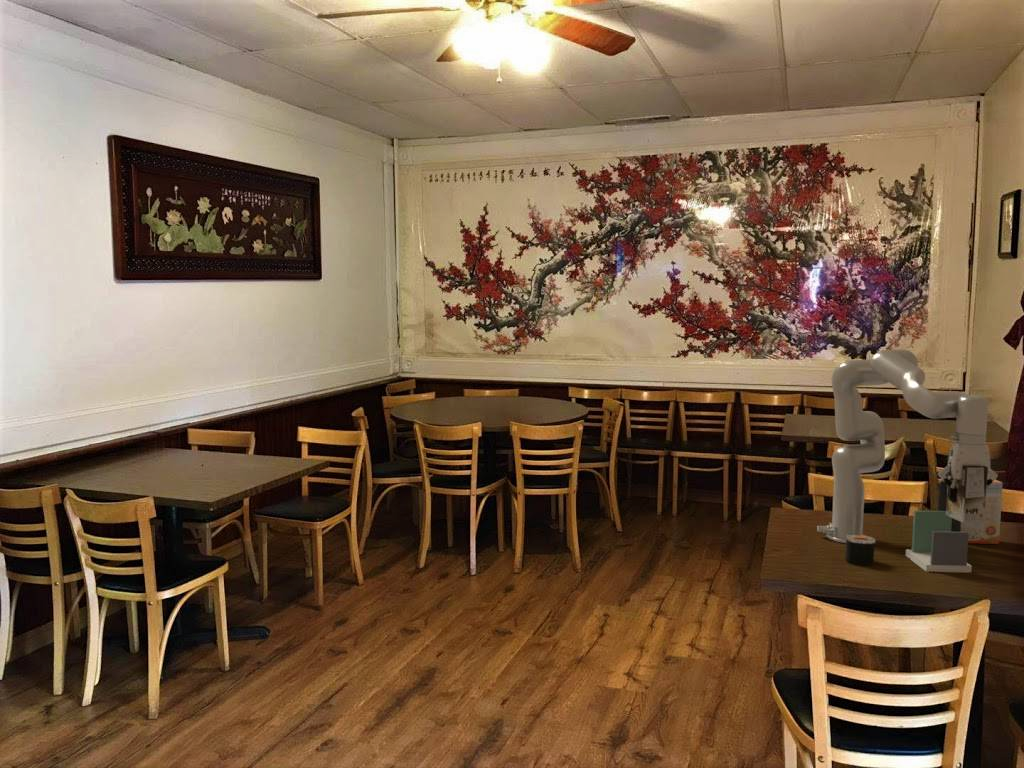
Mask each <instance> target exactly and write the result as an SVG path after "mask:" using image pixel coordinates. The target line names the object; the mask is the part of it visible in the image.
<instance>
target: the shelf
mask: <svg viewBox="0 0 1024 768" xmlns="http://www.w3.org/2000/svg"><path fill="white" fill-rule="evenodd" d="M951 526H952V518H951V517H949V516H947V515H946V511H937V510H919V509H918V510H915V509H914V510H913V523H912V540H911V549H909V548H907V549H905V557H907V558H908V559H909V558H910V559H909V560H911V561H912V562H913V563H914V564H915V565H917V566H919V567H920V568H921V569H922V570H923V571H925V572H927V573H928V572H930V571H931V572H933V571H934V573H935V572H936V573H969V572H970V573H972V571H973V569H972V568H973V567H972V565H971V564H969V563H968V552H969V551H968V550H969V548H968V547H969V543H968V537H969V533H968V532H951ZM931 572H930V573H931ZM970 573H969V574H970Z"/></svg>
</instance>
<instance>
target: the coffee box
mask: <svg viewBox="0 0 1024 768" xmlns="http://www.w3.org/2000/svg"><path fill="white" fill-rule="evenodd" d="M987 473H988V467H986V466H963V469H962V480H958V483H957V484H956V486H955V488H956V489H957V494H956V502H952V501H950V500H949V499H948V496H947V505H946V515H947V516H949V517H951V518H954V519H956V520H958V521H960V522H962V523H984V516H985V502H986V488H987ZM950 477H951V476H949V475H948V479H949V478H950ZM947 495H948V489H947Z"/></svg>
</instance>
